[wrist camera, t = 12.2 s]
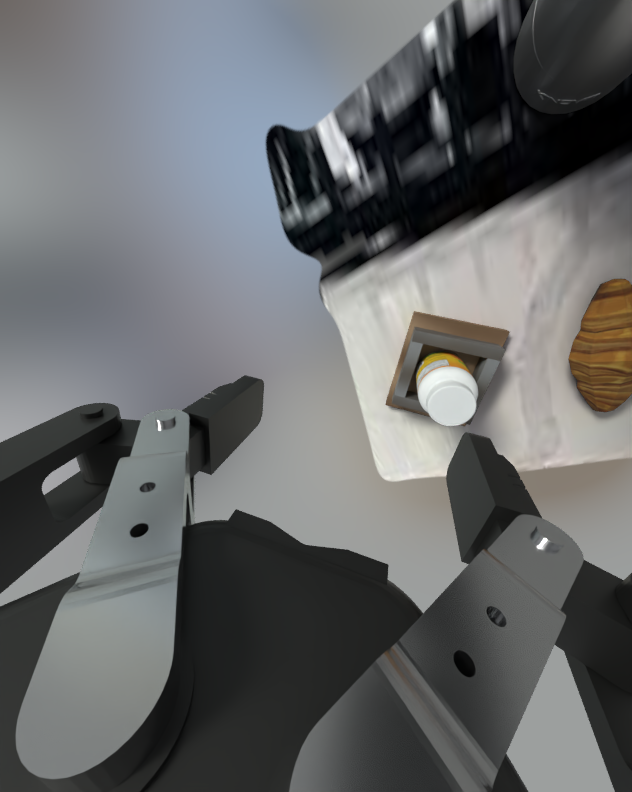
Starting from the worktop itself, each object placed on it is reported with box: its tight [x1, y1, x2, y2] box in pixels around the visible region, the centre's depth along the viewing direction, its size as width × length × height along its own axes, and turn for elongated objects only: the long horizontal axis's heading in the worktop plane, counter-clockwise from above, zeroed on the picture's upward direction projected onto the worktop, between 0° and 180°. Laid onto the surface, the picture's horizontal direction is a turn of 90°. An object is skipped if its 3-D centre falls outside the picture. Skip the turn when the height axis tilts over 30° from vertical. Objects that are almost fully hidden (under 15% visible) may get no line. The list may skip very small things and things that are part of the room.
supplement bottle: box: [416, 351, 478, 426], centre depth 29 cm, size 5×5×10 cm
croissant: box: [569, 279, 632, 412], centre depth 27 cm, size 14×7×5 cm, turn 14°
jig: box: [386, 311, 509, 426], centre depth 32 cm, size 12×10×4 cm
